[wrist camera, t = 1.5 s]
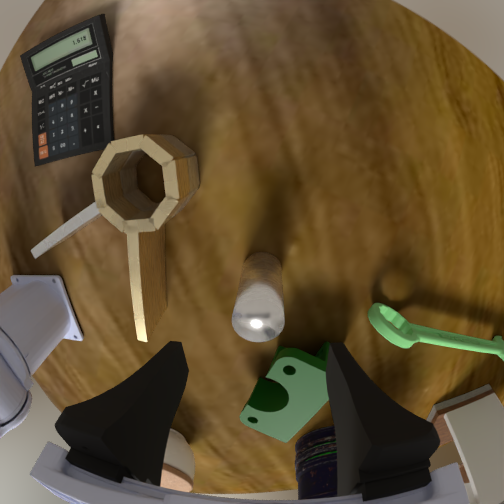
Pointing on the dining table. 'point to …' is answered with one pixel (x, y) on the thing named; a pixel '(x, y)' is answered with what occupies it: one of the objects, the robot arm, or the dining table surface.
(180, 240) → the dining table surface
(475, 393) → the grey boxy piece
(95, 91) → the calculator
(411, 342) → the wrench
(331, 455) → the storage jar
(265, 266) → the hinge pin
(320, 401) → the clamp
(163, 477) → the lidded jar
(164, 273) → the tan ring with arms
